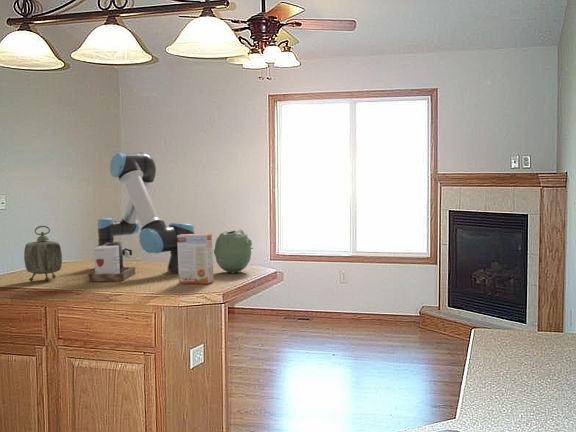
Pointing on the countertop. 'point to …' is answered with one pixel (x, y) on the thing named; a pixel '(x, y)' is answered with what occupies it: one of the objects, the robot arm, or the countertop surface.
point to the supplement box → (107, 260)
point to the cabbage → (233, 251)
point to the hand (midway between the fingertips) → (120, 255)
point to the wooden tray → (123, 274)
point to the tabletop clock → (42, 256)
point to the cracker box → (195, 258)
